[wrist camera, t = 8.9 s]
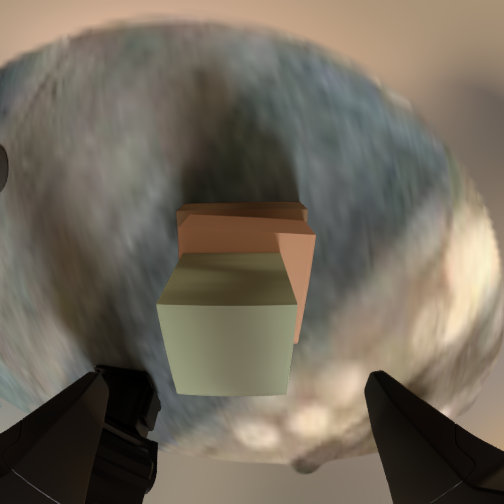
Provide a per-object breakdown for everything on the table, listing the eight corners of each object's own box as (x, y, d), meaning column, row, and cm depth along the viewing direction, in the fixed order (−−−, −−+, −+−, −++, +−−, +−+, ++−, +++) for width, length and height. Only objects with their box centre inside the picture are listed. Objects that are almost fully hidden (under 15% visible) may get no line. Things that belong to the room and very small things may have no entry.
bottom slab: (195, 300, 22) (188, 321, 19) (186, 202, 19) (176, 211, 16) (293, 299, 22) (299, 319, 19) (298, 200, 19) (307, 209, 16)
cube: (192, 330, 16) (177, 393, 11) (183, 252, 14) (156, 304, 9) (275, 330, 16) (286, 394, 11) (280, 252, 14) (297, 304, 9)
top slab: (192, 312, 19) (184, 338, 16) (189, 214, 16) (178, 228, 13) (290, 316, 19) (297, 343, 16) (304, 220, 17) (315, 235, 14)
